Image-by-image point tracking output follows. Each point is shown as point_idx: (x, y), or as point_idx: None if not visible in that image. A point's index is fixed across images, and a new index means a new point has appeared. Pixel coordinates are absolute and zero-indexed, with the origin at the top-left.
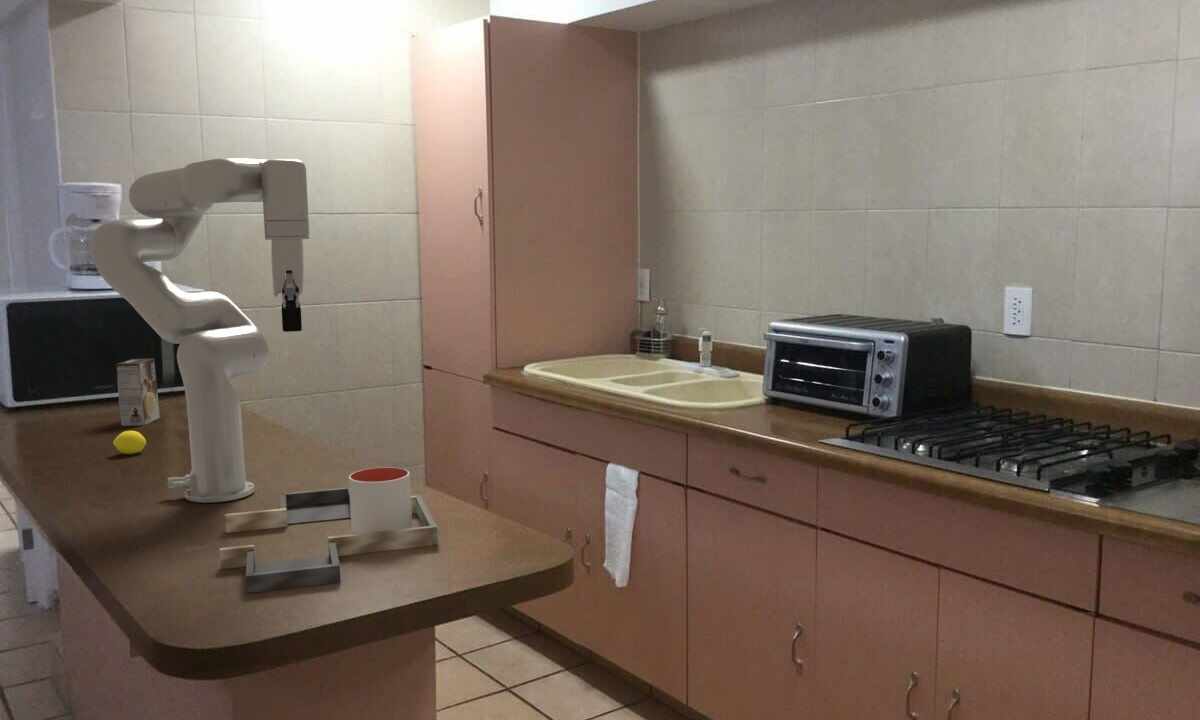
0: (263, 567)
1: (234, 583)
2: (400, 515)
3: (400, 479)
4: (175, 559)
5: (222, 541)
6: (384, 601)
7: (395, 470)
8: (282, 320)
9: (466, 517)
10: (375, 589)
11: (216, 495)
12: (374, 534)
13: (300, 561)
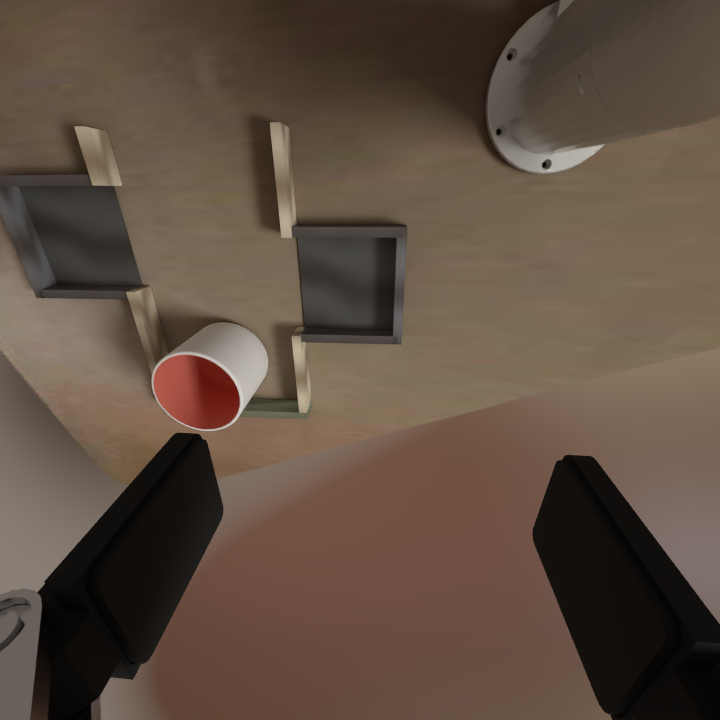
0: (98, 198)
1: (42, 156)
2: (194, 385)
3: (169, 415)
4: (148, 39)
5: (233, 124)
6: (2, 329)
7: (235, 416)
8: (128, 486)
9: (272, 443)
10: (35, 325)
11: (503, 88)
12: (144, 347)
13: (121, 249)
